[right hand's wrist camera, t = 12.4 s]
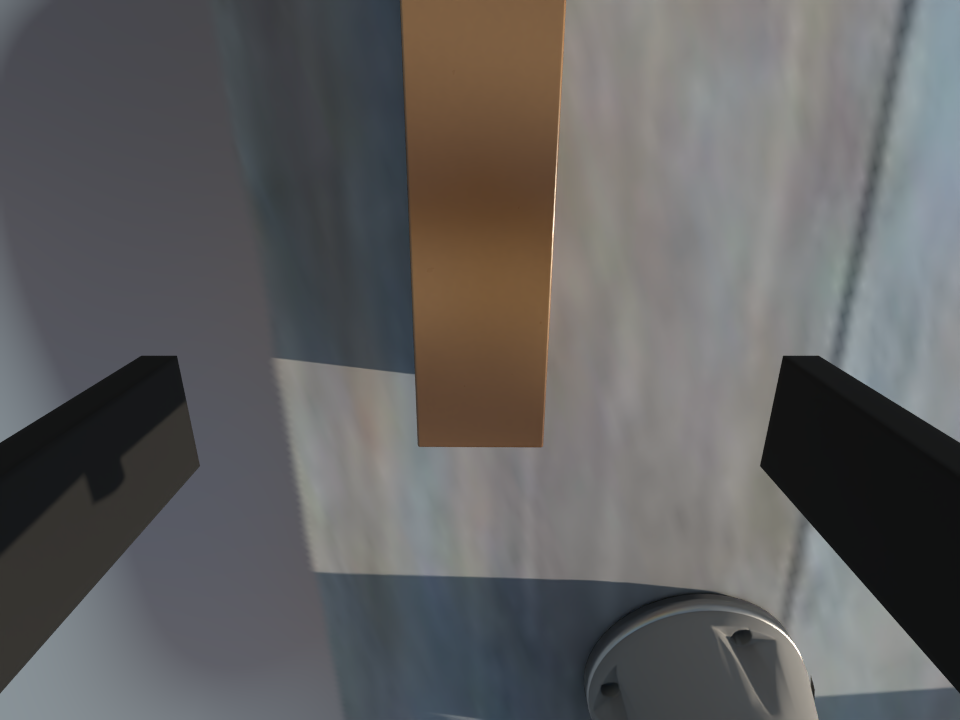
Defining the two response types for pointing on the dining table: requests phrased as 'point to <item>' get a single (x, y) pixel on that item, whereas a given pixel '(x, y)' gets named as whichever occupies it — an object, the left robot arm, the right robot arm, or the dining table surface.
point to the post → (481, 212)
